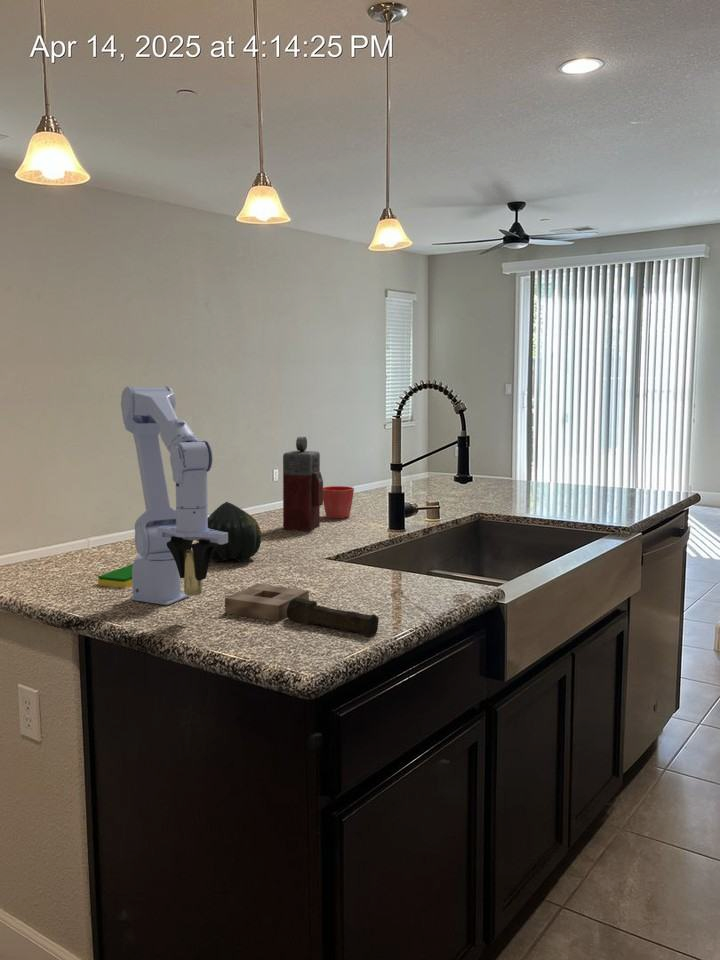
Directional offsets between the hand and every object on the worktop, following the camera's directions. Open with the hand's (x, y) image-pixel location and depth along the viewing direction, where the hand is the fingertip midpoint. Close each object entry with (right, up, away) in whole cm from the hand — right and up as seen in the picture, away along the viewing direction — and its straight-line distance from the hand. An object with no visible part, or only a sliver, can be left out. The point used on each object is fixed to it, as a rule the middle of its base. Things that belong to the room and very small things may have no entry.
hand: (192, 578), depth 148 cm
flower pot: (+24, +6, +115) cm, 118 cm away
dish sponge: (-21, -5, +31) cm, 37 cm away
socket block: (+13, -7, +8) cm, 17 cm away
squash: (-1, -2, +52) cm, 52 cm away
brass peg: (0, -3, 0) cm, 3 cm away
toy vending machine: (+15, +3, +94) cm, 96 cm away
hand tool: (+26, -9, -3) cm, 27 cm away
